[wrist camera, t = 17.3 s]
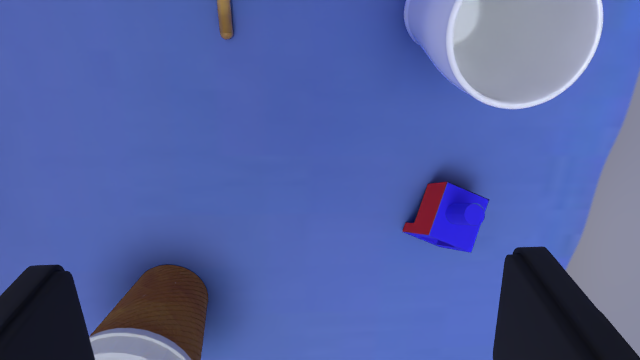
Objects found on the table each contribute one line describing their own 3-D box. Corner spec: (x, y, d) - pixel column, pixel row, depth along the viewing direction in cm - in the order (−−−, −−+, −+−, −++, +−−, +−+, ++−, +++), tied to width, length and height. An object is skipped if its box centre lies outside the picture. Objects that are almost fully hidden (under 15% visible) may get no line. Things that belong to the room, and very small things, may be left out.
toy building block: (456, 200, 42) (510, 199, 34) (439, 247, 41) (491, 256, 34) (419, 184, 41) (466, 179, 34) (402, 232, 41) (446, 237, 33)
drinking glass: (420, -60, 33) (499, -87, 19) (507, -16, 34) (640, -11, 20) (375, 36, 35) (416, 74, 21) (457, 75, 36) (547, 135, 23)
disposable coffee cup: (219, 244, 42) (184, 342, 30) (233, 336, 45) (206, 453, 34) (106, 250, 42) (30, 350, 31) (129, 341, 45) (69, 460, 34)
